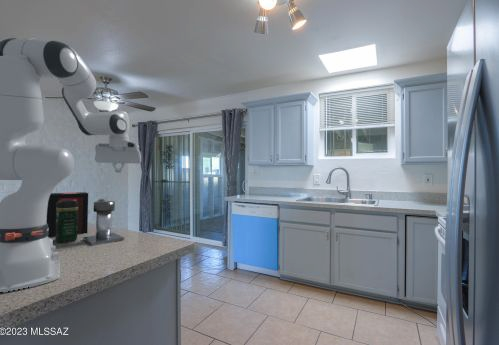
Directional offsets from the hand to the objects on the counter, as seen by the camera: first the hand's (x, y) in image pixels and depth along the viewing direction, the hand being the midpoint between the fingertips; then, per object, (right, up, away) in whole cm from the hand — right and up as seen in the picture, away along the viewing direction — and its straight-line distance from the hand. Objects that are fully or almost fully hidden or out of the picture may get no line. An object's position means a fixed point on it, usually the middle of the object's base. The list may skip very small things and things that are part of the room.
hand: (118, 172), depth 126 cm
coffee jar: (-18, -31, -11) cm, 37 cm away
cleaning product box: (-27, -31, +2) cm, 41 cm away
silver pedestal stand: (-2, -31, -9) cm, 32 cm away
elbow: (-4, -18, -6) cm, 19 cm away
